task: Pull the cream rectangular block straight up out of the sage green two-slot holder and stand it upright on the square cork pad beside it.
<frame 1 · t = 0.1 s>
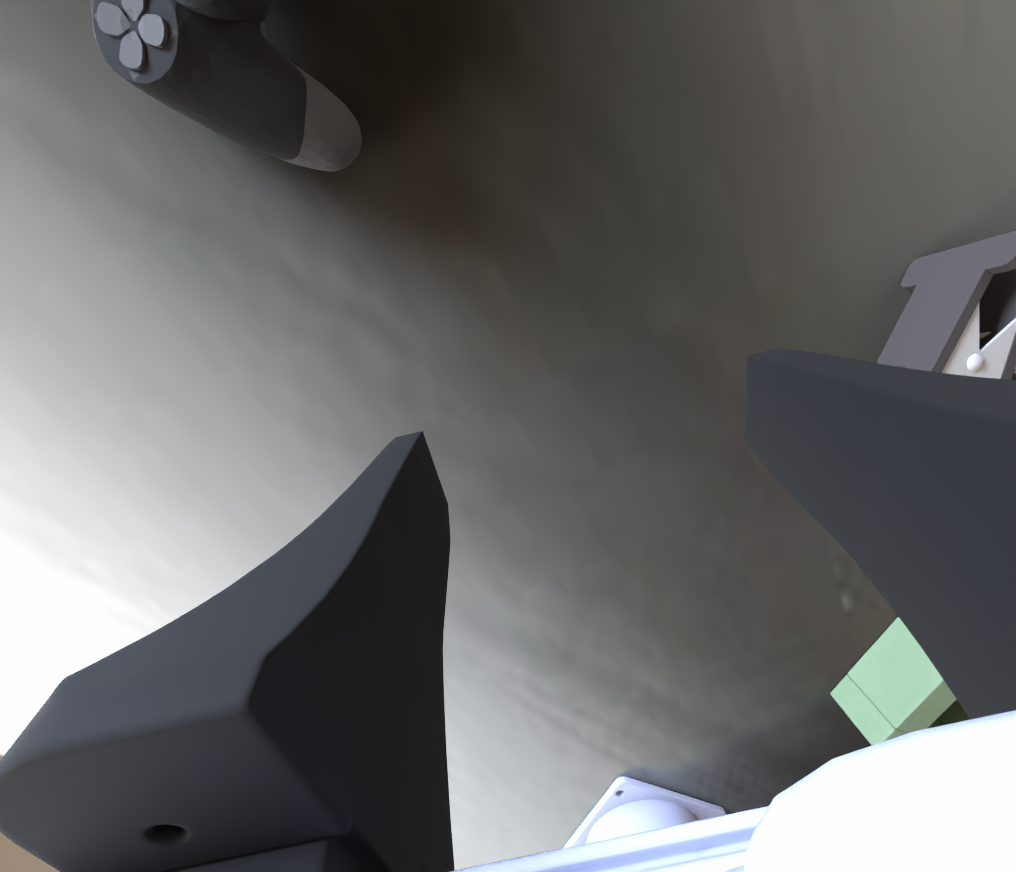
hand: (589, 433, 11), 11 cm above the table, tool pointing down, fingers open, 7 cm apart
holder: (959, 682, 28), on the table
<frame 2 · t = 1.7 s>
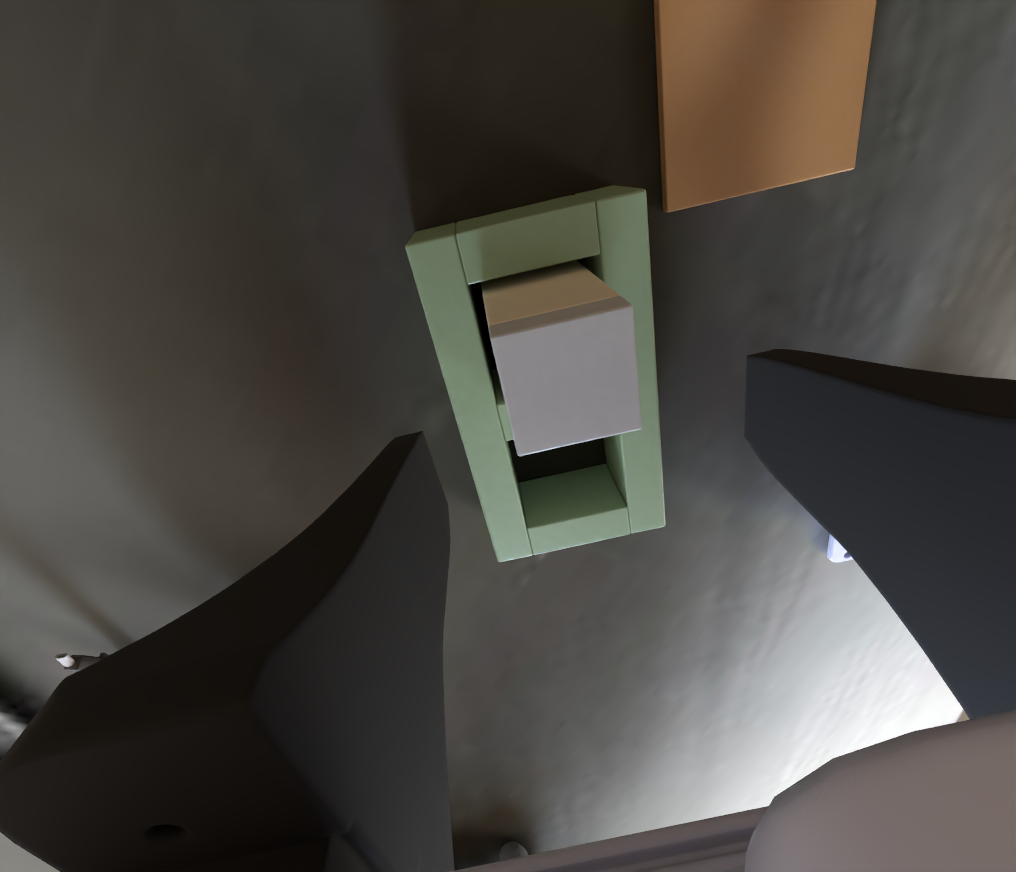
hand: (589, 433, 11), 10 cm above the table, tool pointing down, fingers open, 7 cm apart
gaming controller: (474, 863, 44), on the table
holder: (544, 375, 21), on the table
cork pad: (758, 78, 17), on the table
cream rectangular block: (532, 308, 20), resting in holder
clip-on lamp: (277, 646, 28), on the table
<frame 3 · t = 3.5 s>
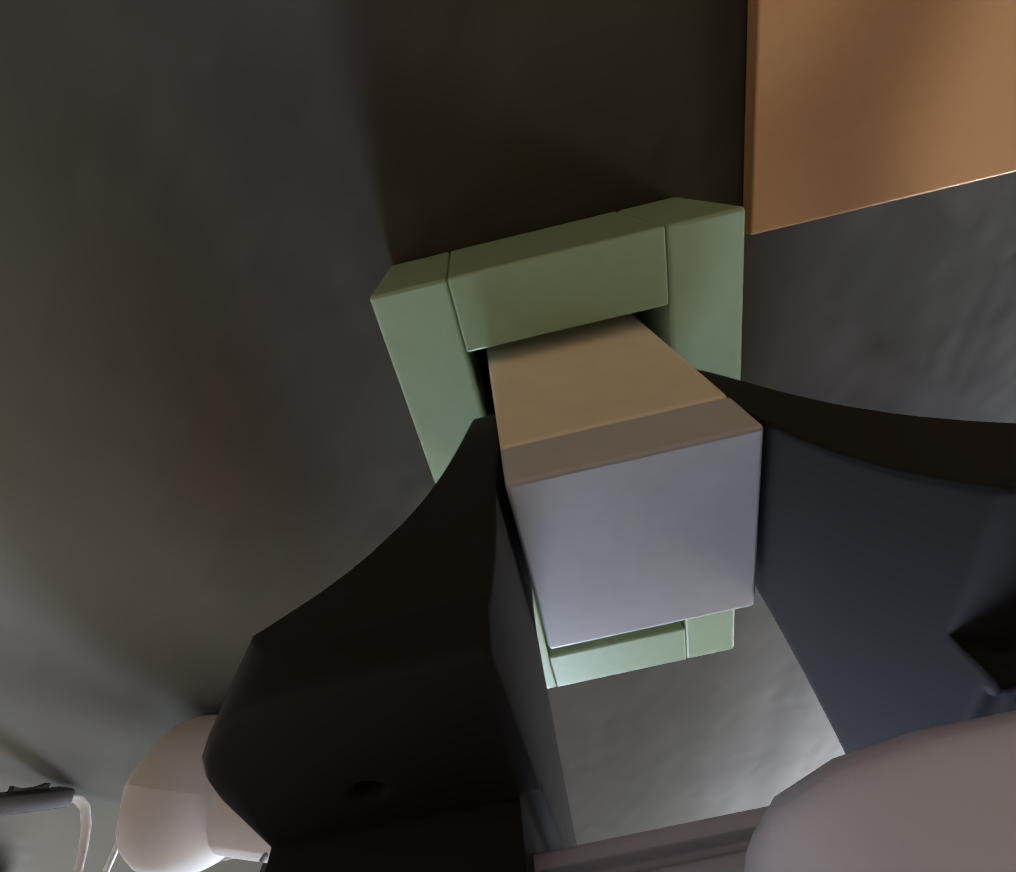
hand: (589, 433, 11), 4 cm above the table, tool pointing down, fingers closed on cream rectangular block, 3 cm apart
holder: (570, 450, 16), on the table
cork pad: (894, 38, 11), on the table
cream rectangular block: (555, 366, 14), resting in holder, touching gripper
clip-on lamp: (237, 763, 23), on the table
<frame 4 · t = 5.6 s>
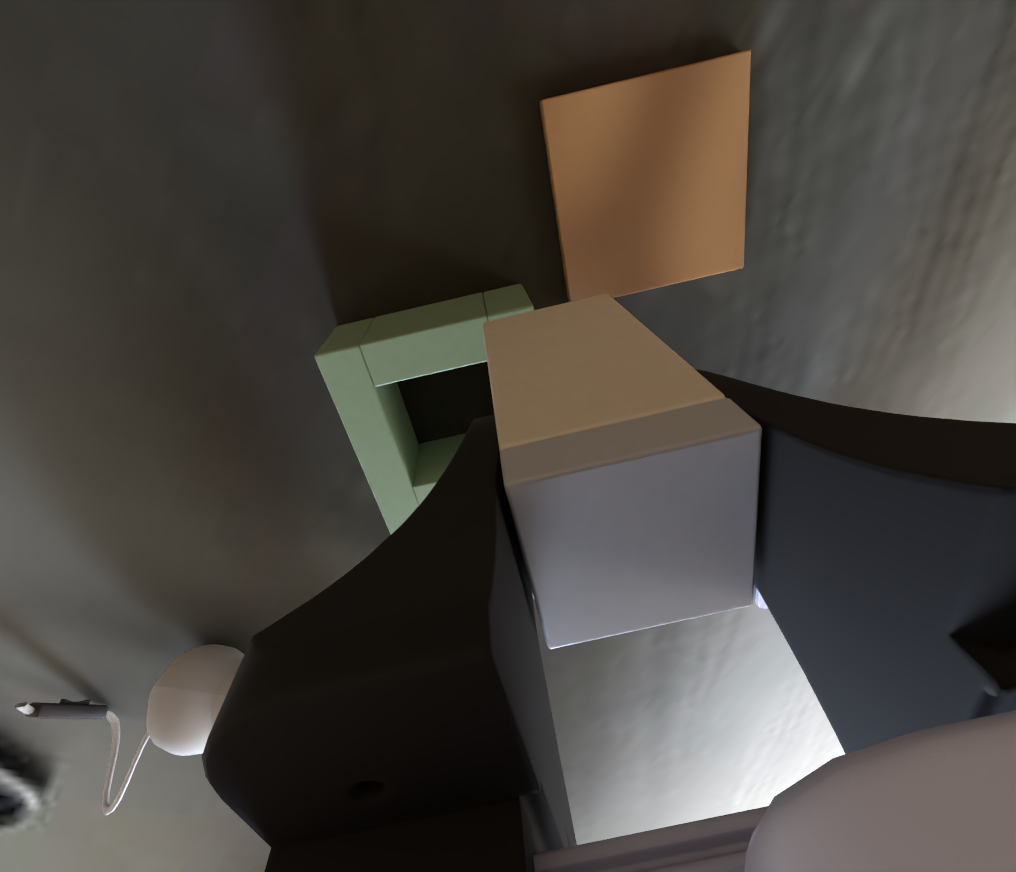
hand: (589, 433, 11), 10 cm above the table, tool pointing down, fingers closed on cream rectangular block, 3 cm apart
holder: (469, 447, 23), on the table
cork pad: (647, 191, 18), on the table
cream rectangular block: (554, 366, 14), point 6 cm above the table, touching gripper
clip-on lamp: (233, 688, 30), on the table
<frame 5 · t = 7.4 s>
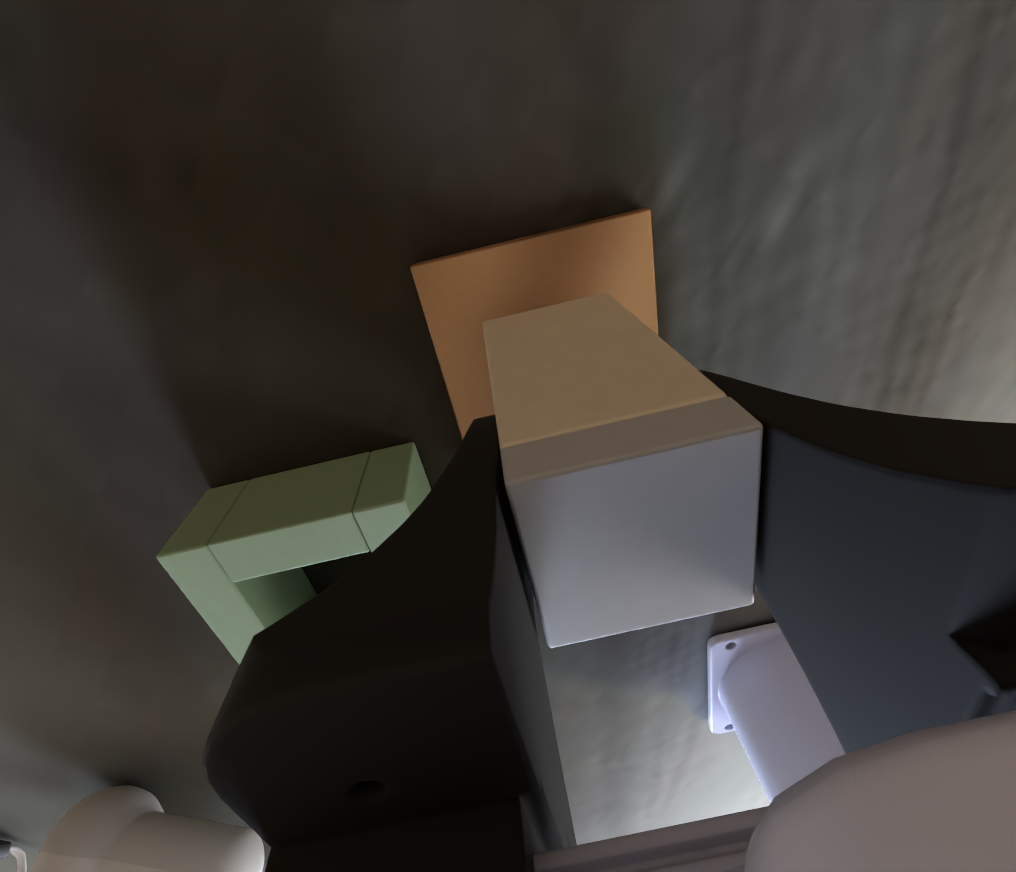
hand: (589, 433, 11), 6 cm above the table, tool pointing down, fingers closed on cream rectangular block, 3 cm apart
holder: (376, 596, 21), on the table
cork pad: (547, 348, 16), on the table
cream rectangular block: (555, 365, 14), point 2 cm above the table, touching gripper
clip-on lamp: (148, 819, 28), on the table
when the fingers open (5 cm above the table, at t = 8.2 s): cream rectangular block stays where it is, resting on cork pad.
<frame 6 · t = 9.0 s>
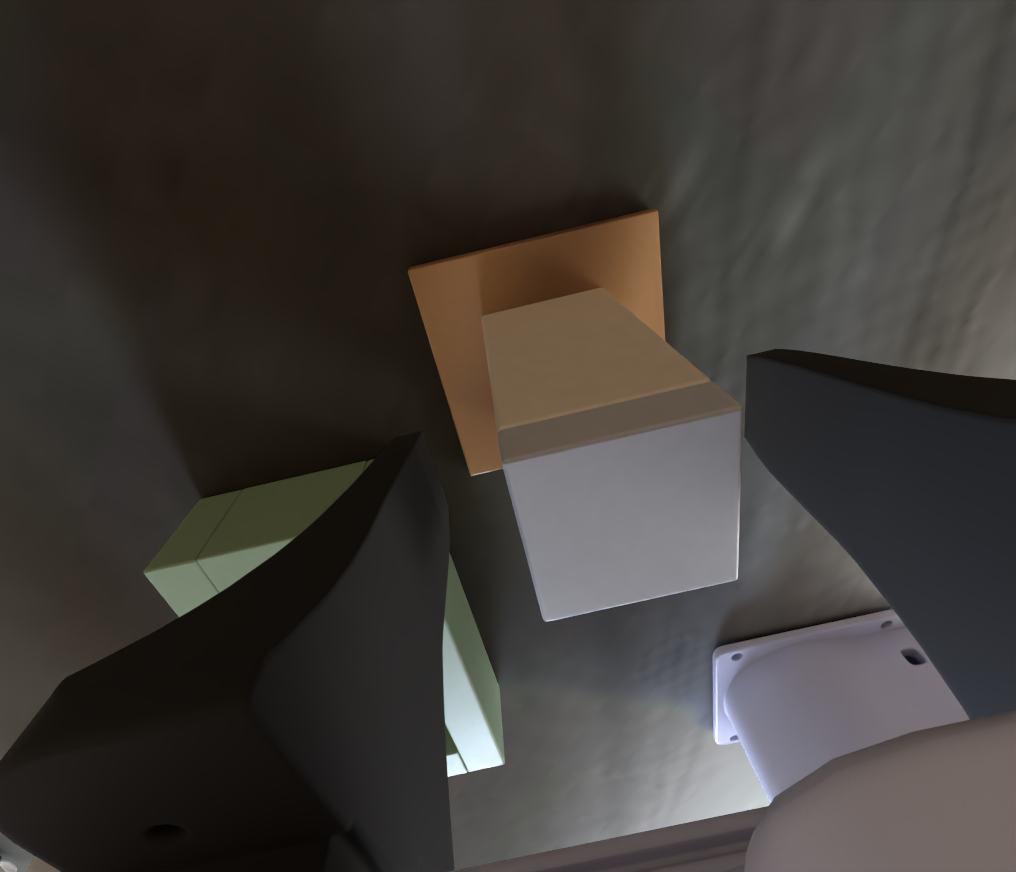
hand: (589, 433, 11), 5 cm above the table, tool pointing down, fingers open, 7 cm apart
holder: (373, 607, 20), on the table
cork pad: (550, 353, 15), on the table
cream rectangular block: (551, 358, 15), resting on cork pad
clip-on lamp: (142, 831, 27), on the table
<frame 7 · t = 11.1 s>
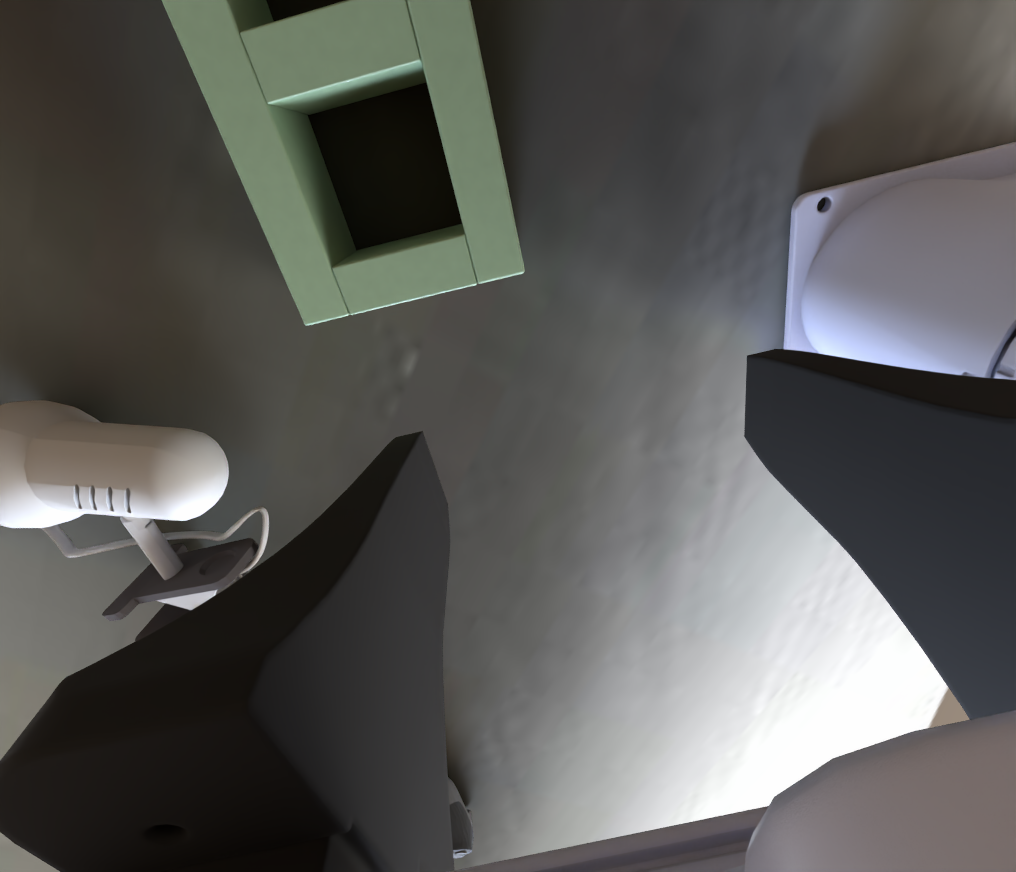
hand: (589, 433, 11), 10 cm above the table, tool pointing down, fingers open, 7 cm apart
gaming controller: (402, 799, 39), on the table
holder: (361, 69, 16), on the table
clip-on lamp: (109, 492, 24), on the table
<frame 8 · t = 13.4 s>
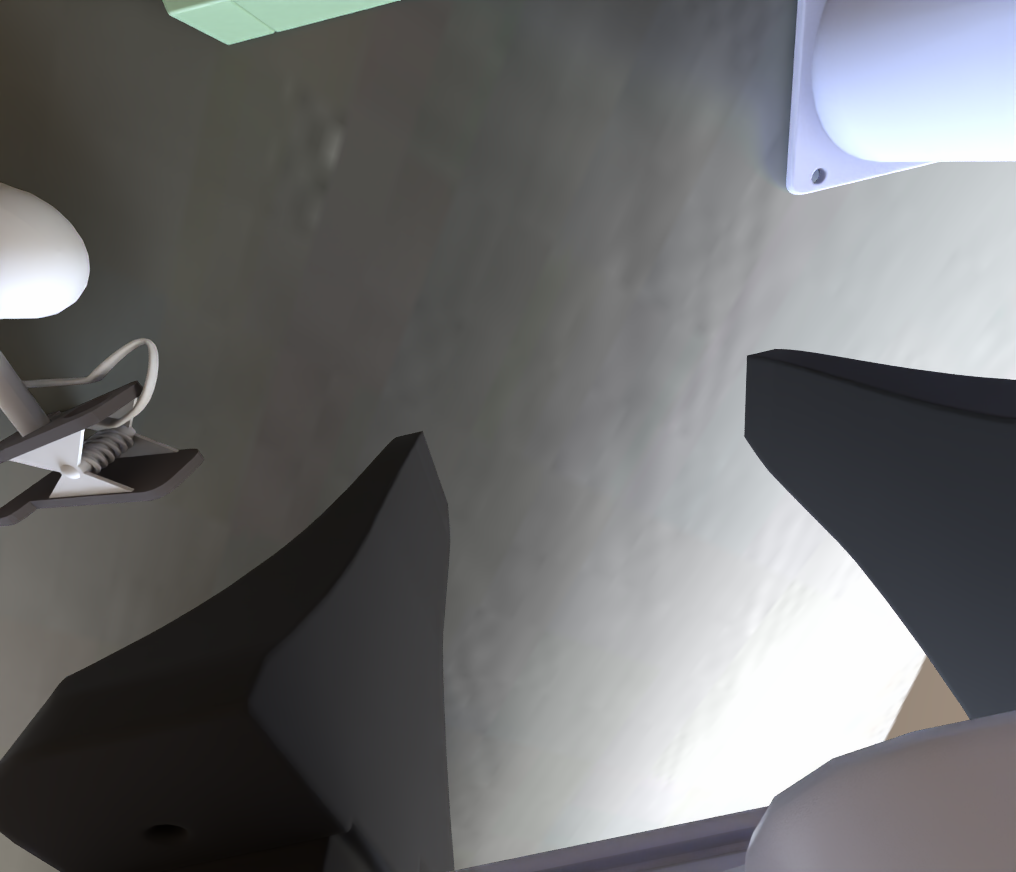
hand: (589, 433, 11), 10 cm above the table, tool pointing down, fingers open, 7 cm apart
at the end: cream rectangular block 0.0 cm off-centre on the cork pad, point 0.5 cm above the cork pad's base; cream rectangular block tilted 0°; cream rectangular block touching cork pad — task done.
